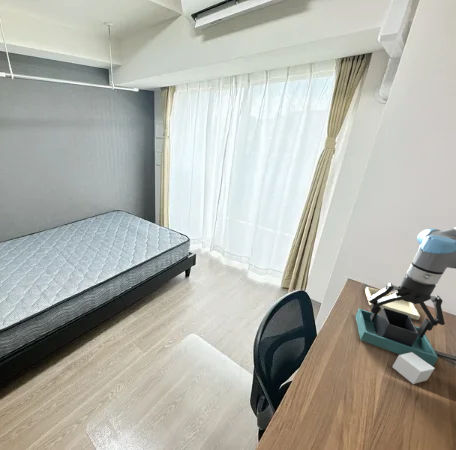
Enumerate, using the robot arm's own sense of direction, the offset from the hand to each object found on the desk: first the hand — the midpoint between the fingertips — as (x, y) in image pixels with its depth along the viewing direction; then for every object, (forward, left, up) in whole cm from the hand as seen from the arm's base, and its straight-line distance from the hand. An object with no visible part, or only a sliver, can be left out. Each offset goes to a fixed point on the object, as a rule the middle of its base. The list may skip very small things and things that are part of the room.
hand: (394, 326), depth 91 cm
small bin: (0, 0, -6) cm, 6 cm away
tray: (-5, -28, -6) cm, 29 cm away
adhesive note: (-2, +16, -6) cm, 17 cm away
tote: (0, 0, -6) cm, 6 cm away
